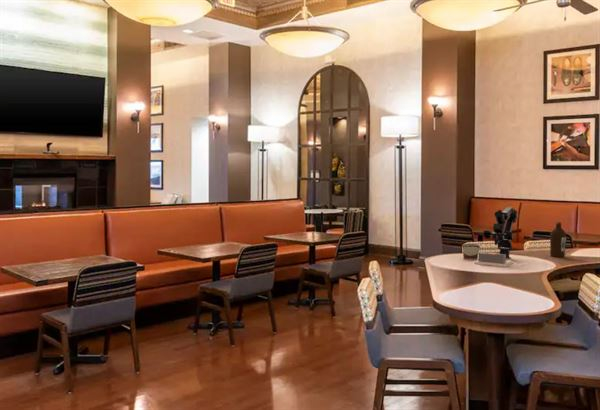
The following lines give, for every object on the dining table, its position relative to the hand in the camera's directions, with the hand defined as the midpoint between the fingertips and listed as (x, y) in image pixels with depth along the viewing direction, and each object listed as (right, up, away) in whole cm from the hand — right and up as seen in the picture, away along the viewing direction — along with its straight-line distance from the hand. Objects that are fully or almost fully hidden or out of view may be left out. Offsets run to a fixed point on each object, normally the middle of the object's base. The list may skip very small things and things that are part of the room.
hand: (495, 244), depth 375 cm
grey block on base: (-2, -12, -2) cm, 12 cm away
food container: (-12, -11, +19) cm, 25 cm away
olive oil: (+56, -11, +32) cm, 65 cm away
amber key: (-4, -8, -6) cm, 11 cm away
